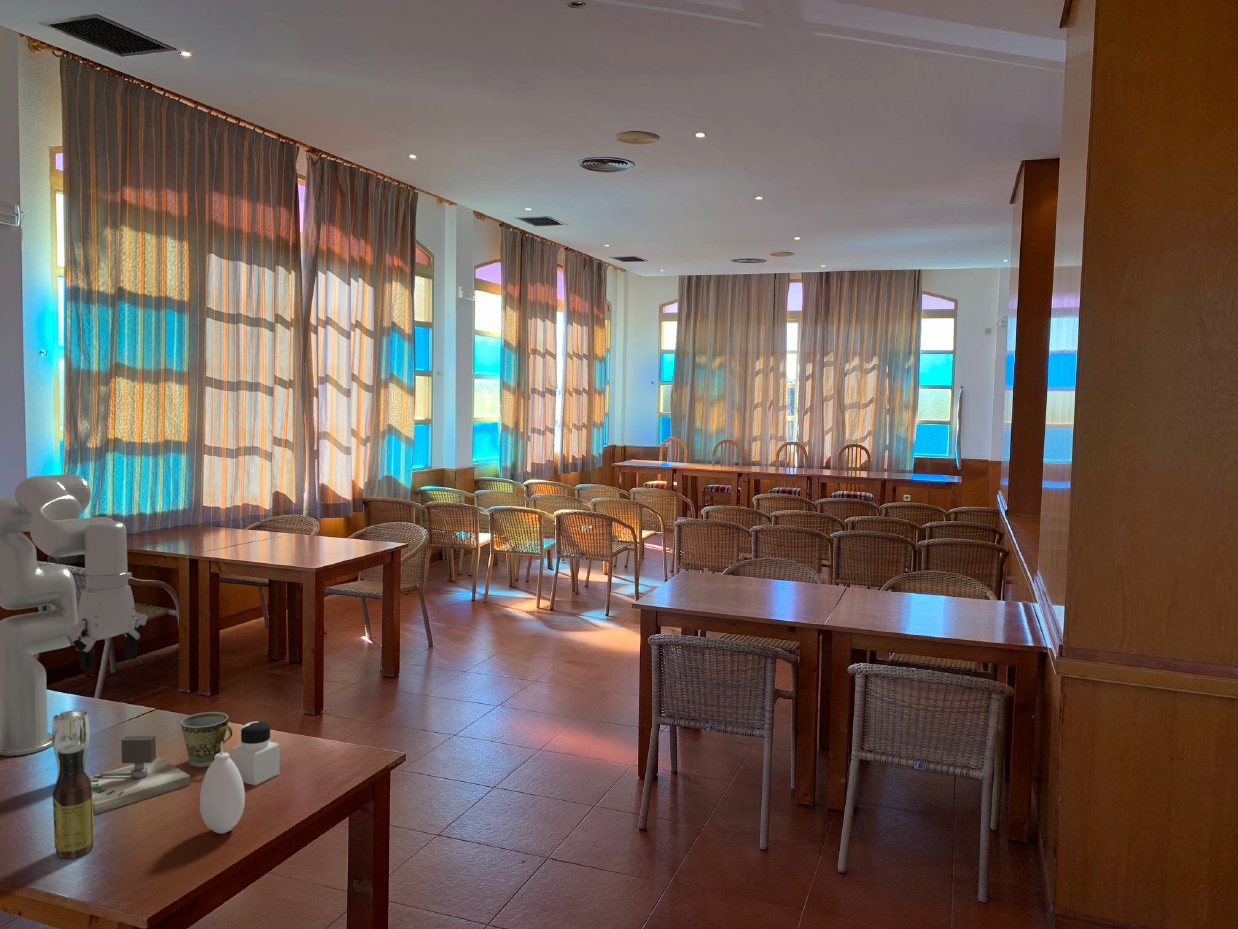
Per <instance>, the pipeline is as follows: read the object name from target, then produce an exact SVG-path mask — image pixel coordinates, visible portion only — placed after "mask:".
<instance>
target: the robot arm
mask: <svg viewBox="0 0 1238 929" xmlns="http://www.w3.org/2000/svg"><path fill="white" fill-rule="evenodd" d="M91 497H92V490H91V488H90V485H89V482H88V481H87V480H86V479H85V478H84V477H83V476H81V475H78V474H73V473H69V474H68V473H67V474H53V475H52V474H47V475H46V474H45V475H35V476H30V477H27V478H25V479H23V480H21V481H20V482H19V483H18V484H17V485H16V487H15V490H14V495H12V496H4V497H0V607H1V608H2V609H5V610H11V611H12V610H13V611H14V610H24V609H30V608H38V607H43V606H50V610H43V611H37V612H30V613H25V614H23V613H22V614H18V615H12V616H8V617H6V618H3V619H1V620H0V756H1V755H3V757H12V756H13V757H14V756H15V755H16V756H24V755H29V754H33V753H38V752H41V751H42V750H46V749H48V748H50V747H51V746H52V747H53V742H52V732H51V733H50V732H48V727H49V725H48V698H47V697H48V692H47V687H48V686H47V671H46V668H45V667H44V665H43V664H42V663H41V662H39V661H38V660H37V658H35V657H34V655H36V654H39V653H44V652H49V651H54V650H59V649H64V648H68V647H70V646H71V647H73V648H75V651H78V660H79V668H80V670H82V671H87V672H92V671H93V670H94V668H95V667H94V666H95V665H94V664H95V662H94V652H93V650H91V649H92V648H93V647H94V645H95V643H96V641H101V640H105V639H110V638H113V637H117V636H121V635H124V636H125V638H123V656H124V658H126V659H132V660H135V659H136V660H137V659H138V640H139V639H140V637H141V634H142V632H143V631H144V629H145V626H146V623H147V620H148V617H149V616H148V615H146V614H144V613H140V612H137V611H136V609H135V601H134V595H133V592H132V588H131V585H129V579H132V576H133V575H132V572H130V571H128V549H127V548H128V544H127V543H128V542H127V541H128V540H127V539H128V538H127V527H126V525H125V523H124V522H122V521H118V520H114V519H112V518H111V517H107V516H95V517H83V518H80V516H81V514H83V513H84V511H85V510H86V509H87V508H88V506H89V504H90V501H91ZM24 532H25V533H26V532H29V533H30V534H29V535H30V537H31V539H30V538H29V537H28V536H27V535H25V534H24ZM31 540H32V541H31ZM36 547H37V548H38V549H39V550H40V551H42V553H44V554H45V555H48V556H50V557H53V558H63V557H71V556H79V555H84V568H85V570H84V572H85V589H84V590H81V595H80V597H79V604H77V603H78V601H77V591H76V590H77V589H76V582H75V578H74V575H73V573H72V572H71V570H70V569H69V568H68V567H67V566H66V565H62V564H47V565H40V566H39V565H38V558H37V548H36ZM79 638H80V639H79ZM16 756H15V757H16Z"/></svg>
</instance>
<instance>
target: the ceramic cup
mask: <svg viewBox="0 0 1238 929" xmlns="http://www.w3.org/2000/svg"><path fill="white" fill-rule="evenodd" d="M229 719H230V718H229V715H228V714H226V713H224V712H220V711H207V712H200V713H199V712H198V713H195V714H192V715H188V716H187V717H185V718H182V720H181V722H180V727H181V732H182V736H183V739H184V742H185V746H186V751H187V756H188V757H187V758H188V762H189V765H190V766H191V767H196V768H205V767H209V766H210V765H211V763H212V762H213V761H214V760H215V759H214V757H215V755H216V754H218V753H220V752H221V741H222V743H223V745H225V743H226V742H228V741H229V740H230V739H231V738H232V736H233V730H232V728H231V726H229ZM227 731H228V732H229V736H228V737H227V738H226V739H225V737H226V733H227Z"/></svg>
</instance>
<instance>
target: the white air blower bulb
mask: <svg viewBox="0 0 1238 929" xmlns="http://www.w3.org/2000/svg"><path fill="white" fill-rule="evenodd" d="M214 759H215V760H214V761H213V762H212V763H211V765H210V766H208V768H207V770H206V772H205V774H204V777H203V780H202V784H201V788H200V794H199V810H200V815H201V818H202V821H203V822H204V824H205V826H206V827H207V828H208V829H209V830H211V831H212V832H214V833H217V834H221V835H222V834H226V833H227V832H229V831H231V830H232V829H233V827H235V826H236V825H238V823H239V821H240V819H241V817H242V815H243V812H244V809H245V798H246V794H245V786H244V785H245V784H244V783H243V781H242V778H241V775H240V773H239V770H238V768H237V767H236V765H235V763H234V762H233V761H232V758H231V757H230V754H229V753H228V752H224V744H223V743H222V741H221V752H220V753H218V754H216V755H215V757H214Z"/></svg>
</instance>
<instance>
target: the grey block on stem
mask: <svg viewBox="0 0 1238 929" xmlns="http://www.w3.org/2000/svg"><path fill="white" fill-rule="evenodd" d="M120 741H121V764H133V765H134V769H132V770H131V772H119V773H105V772H100V773H99V774H100V776H131V778H142V777H145V776H147V774H148V768H147V767H144V763H151V762H153V761H154V760H155V759H156V758H157V751H156V750H157V749H156V747H157V743H156V735H133V736H132V735H127V736H125V737H124V738H122V739H121V740H120Z"/></svg>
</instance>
